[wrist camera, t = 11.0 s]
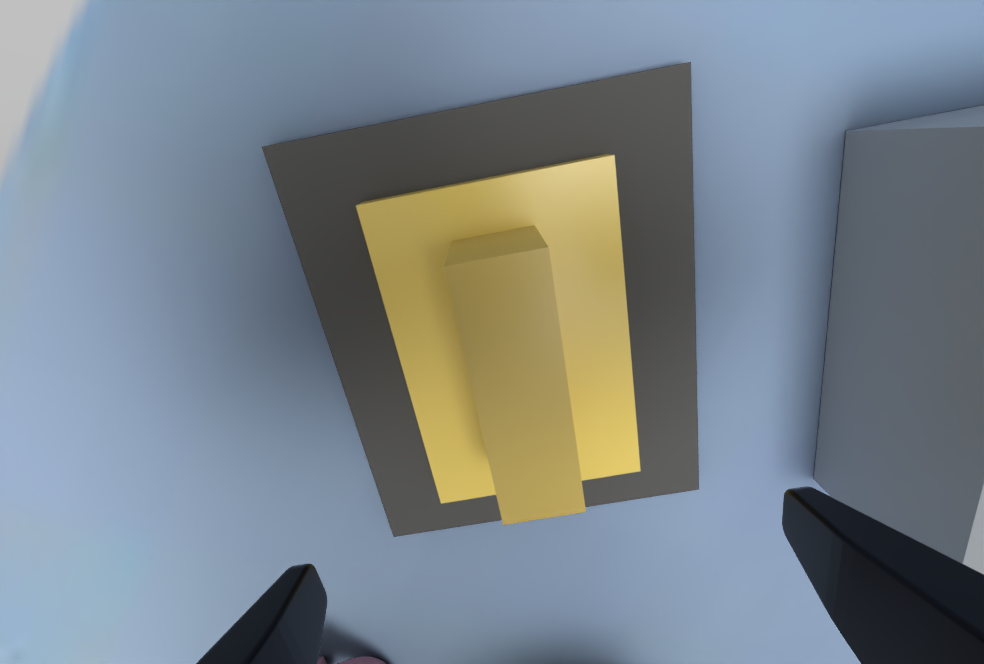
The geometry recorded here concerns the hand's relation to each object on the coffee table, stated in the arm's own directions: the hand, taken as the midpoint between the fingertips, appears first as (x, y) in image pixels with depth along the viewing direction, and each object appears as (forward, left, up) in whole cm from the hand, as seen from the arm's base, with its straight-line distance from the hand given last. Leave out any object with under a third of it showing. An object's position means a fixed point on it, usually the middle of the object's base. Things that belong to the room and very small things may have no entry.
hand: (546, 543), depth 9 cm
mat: (0, 0, -11) cm, 11 cm away
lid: (0, 0, -10) cm, 10 cm away
